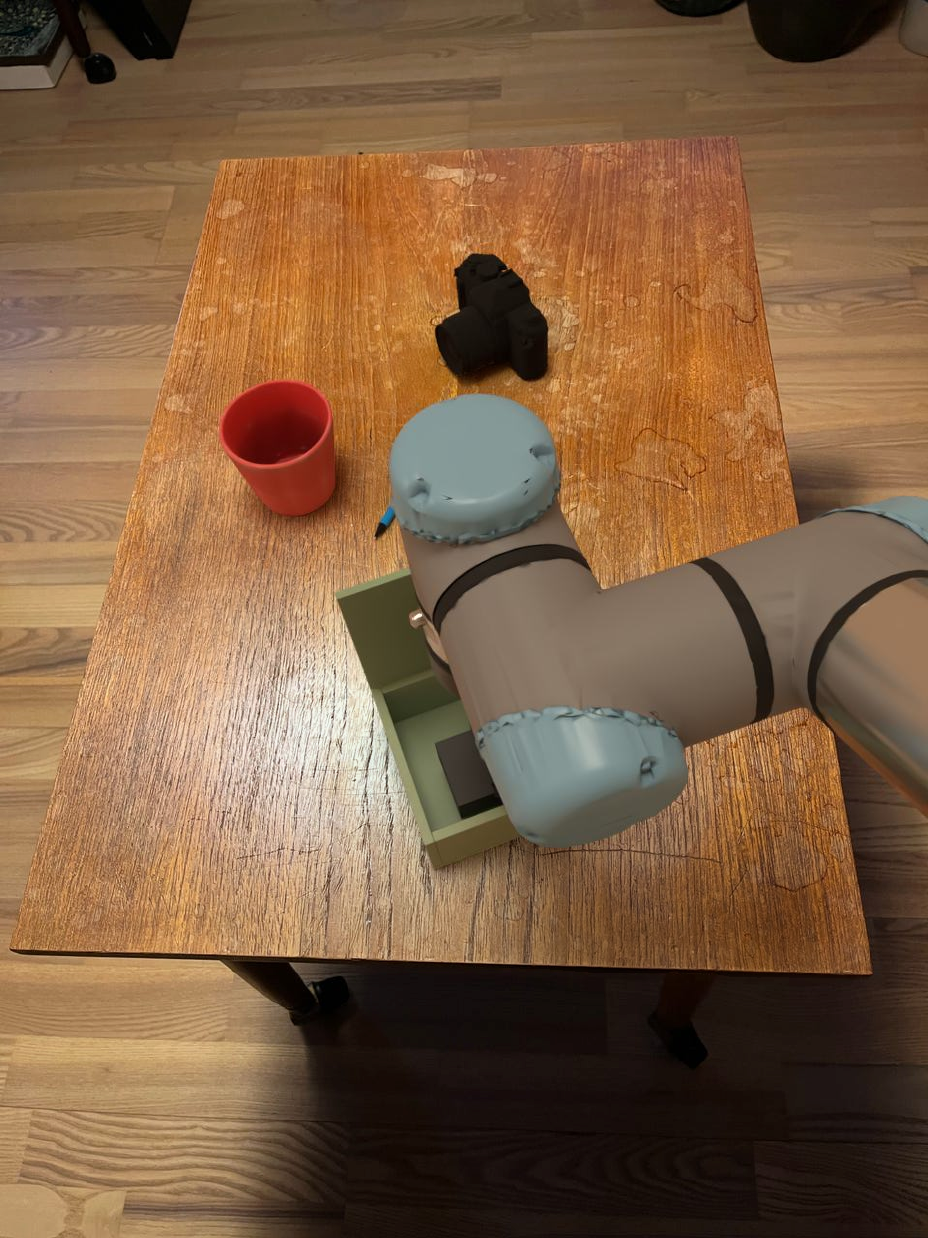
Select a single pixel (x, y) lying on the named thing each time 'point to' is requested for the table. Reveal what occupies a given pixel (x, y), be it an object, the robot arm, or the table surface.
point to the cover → (385, 627)
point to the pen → (384, 522)
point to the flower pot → (282, 444)
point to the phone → (466, 774)
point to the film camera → (493, 321)
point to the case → (435, 768)
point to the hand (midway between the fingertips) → (502, 766)
